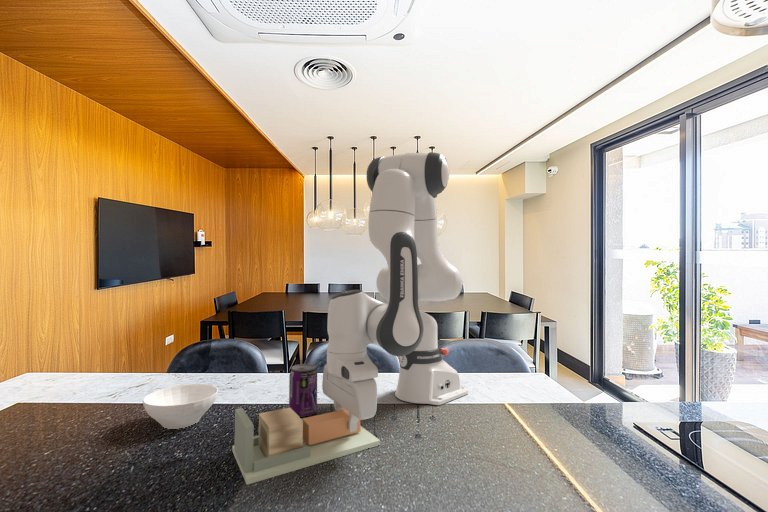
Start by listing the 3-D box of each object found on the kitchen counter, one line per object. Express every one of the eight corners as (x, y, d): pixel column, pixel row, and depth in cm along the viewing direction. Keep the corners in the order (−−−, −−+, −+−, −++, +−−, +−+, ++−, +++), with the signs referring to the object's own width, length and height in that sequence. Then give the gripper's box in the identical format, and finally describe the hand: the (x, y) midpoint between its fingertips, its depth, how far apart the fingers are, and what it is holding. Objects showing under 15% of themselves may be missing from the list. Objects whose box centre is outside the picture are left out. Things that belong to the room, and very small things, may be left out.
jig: (350, 421, 88) (350, 384, 89) (379, 445, 77) (380, 401, 77) (232, 450, 74) (233, 406, 74) (246, 484, 62) (247, 431, 63)
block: (289, 438, 77) (290, 407, 78) (302, 454, 71) (302, 420, 71) (258, 445, 74) (258, 413, 74) (268, 463, 67) (269, 427, 67)
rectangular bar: (352, 425, 83) (352, 407, 83) (360, 431, 80) (360, 413, 80) (301, 437, 77) (302, 418, 77) (308, 445, 73) (308, 425, 74)
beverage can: (310, 420, 89) (311, 371, 90) (283, 418, 91) (284, 369, 91) (321, 409, 96) (321, 364, 97) (296, 407, 98) (296, 362, 98)
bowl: (228, 422, 88) (229, 393, 88) (153, 445, 76) (154, 411, 76) (203, 406, 99) (203, 380, 99) (133, 423, 87) (134, 394, 87)
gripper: (316, 355, 88) (315, 413, 87) (355, 375, 71) (354, 448, 70) (339, 352, 91) (339, 408, 91) (382, 371, 74) (382, 440, 73)
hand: (346, 425), depth 80 cm, fingers closed on rectangular bar, 4 cm apart
